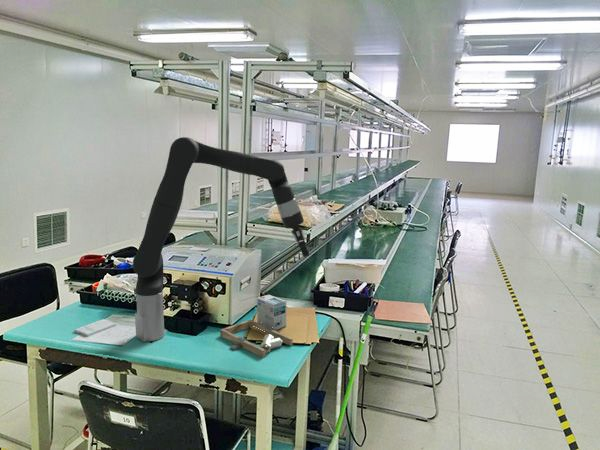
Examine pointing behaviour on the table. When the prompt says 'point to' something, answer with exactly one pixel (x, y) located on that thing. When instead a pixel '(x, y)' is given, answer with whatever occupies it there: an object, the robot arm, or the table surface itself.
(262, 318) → the light bulb box
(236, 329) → the wooden frame
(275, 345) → the pipe fitting
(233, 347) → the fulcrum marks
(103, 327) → the external hard drive
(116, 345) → the table surface
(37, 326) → the table surface
